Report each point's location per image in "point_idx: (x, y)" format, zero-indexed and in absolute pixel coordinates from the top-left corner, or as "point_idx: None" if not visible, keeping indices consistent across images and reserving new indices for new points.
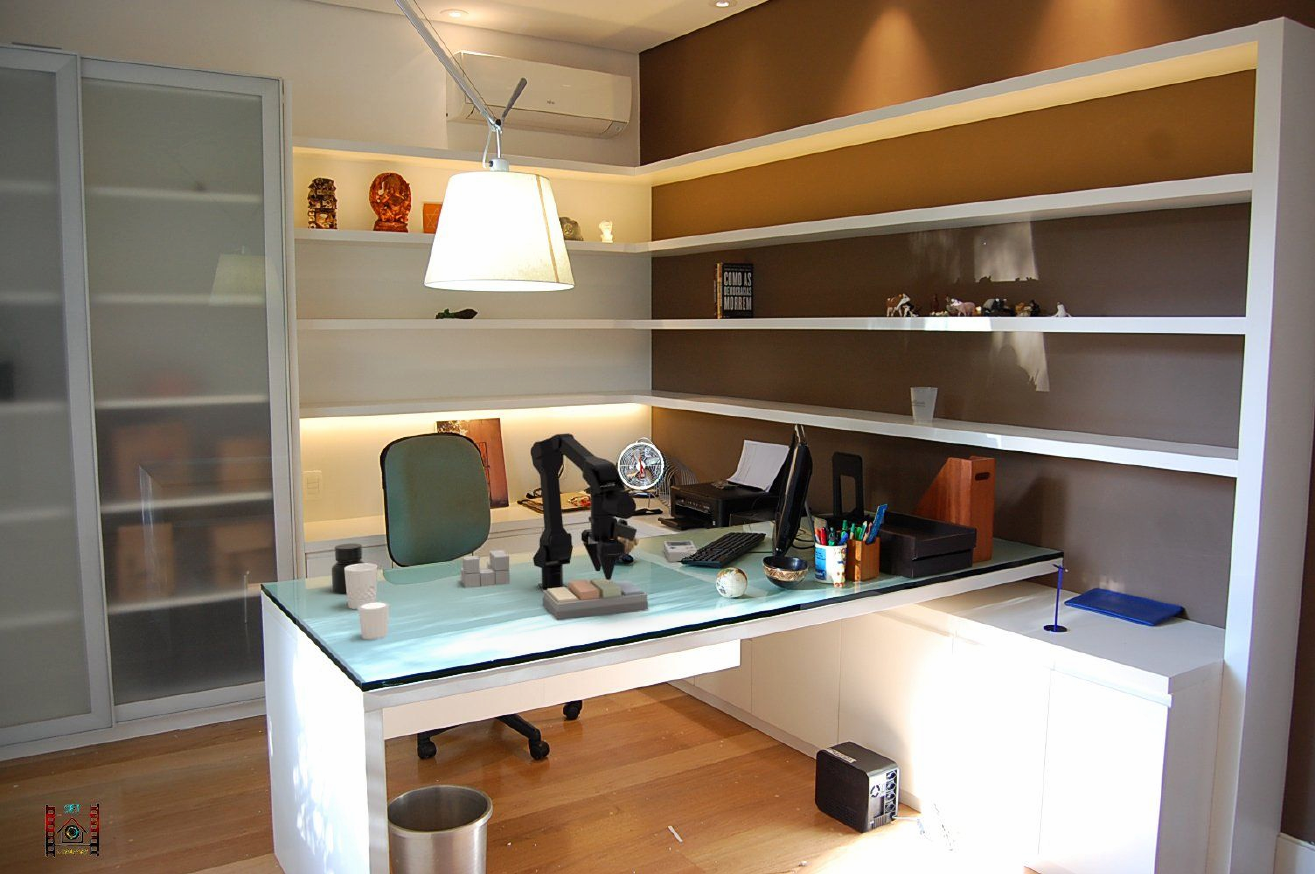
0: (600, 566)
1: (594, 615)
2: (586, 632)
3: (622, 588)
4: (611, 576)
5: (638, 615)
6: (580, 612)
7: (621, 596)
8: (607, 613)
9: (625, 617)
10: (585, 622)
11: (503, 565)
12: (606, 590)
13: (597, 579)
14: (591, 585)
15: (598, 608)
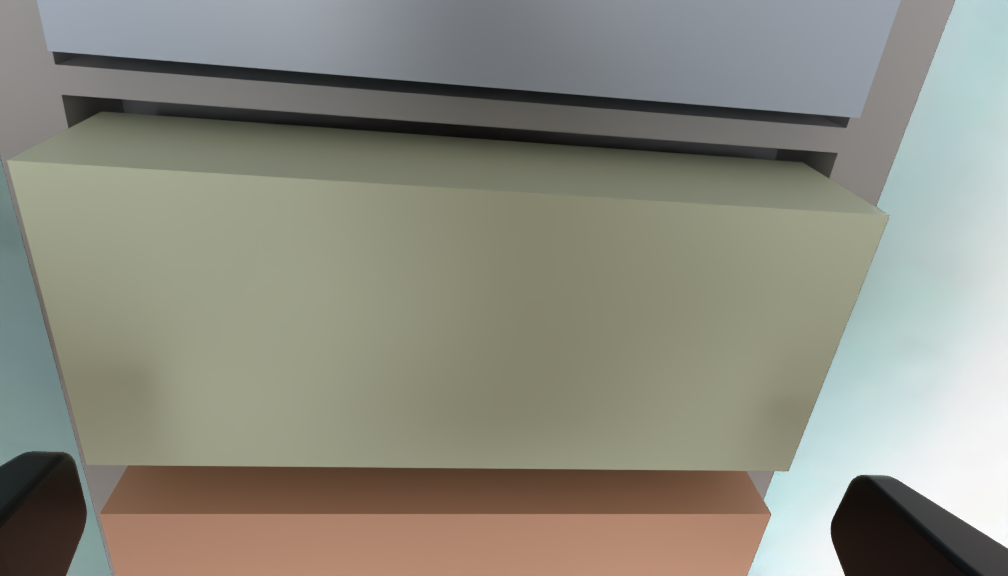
0: (2, 526)
1: None
2: (1000, 535)
3: (601, 43)
4: (949, 512)
5: (989, 2)
6: None
7: (843, 179)
8: None
9: (937, 166)
10: (809, 490)
11: None
12: (797, 423)
13: (141, 373)
14: (487, 534)
15: None
